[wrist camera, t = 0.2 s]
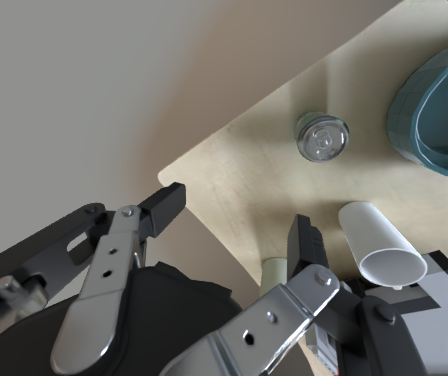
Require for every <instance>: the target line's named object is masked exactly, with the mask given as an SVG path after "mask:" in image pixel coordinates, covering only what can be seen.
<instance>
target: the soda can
mask: <svg viewBox="0 0 448 376" xmlns="http://www.w3.org/2000/svg"><path fill="white" fill-rule="evenodd" d="M293 132H294V136H295V139H296V143H297V146H298V149H299V152H300V154H301V155H302V156H303V157H304V158H305V159H307V160H309V161H312V162H326V161H330V160H332V159H335V158H336V157H338V156H339V155H340V154H341V153H342V152H343V151H344V149H345V148H346V146H347V144H348V141H349V129H348V127H347V125H346V124H345V123H344V122H343V121H342V120H341V119H339V118H337V117H334V116H331V115H327V114H324V113H321V112H318V111H310V112H306V113H304V114H303V115H301V116H300V117H299V118H298V119H297V121H296V122H295V125H294V129H293Z"/></svg>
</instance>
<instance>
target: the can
mask: <svg viewBox="0 0 448 376" xmlns="http://www.w3.org/2000/svg"><path fill="white" fill-rule="evenodd" d="M280 283H282V284H283V285H284V284H286V283H287V259H284V258H270V259H268V260H266V261H265V262H264V263H263V265H262V278H261V286H260V293H259V298H260V297H262V296H263V295H264V294H266V293H267V292H268V291H270V290H271V289H272V288H274V287H275V286H276V285H278V284H280Z"/></svg>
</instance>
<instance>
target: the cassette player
mask: <svg viewBox="0 0 448 376" xmlns="http://www.w3.org/2000/svg"><path fill="white" fill-rule="evenodd" d="M305 336H306V346H307V347H308V348H309V349H310V350H311V351H312V352H313V354H314V355H315V356H316V357H317V359H318V360H319V361H320V362H321V363H322V364H323V365H324V366H325V367H326V368H327V369H328V370H329V371H330V372H331V373H332V374H333V375H334V376H339V371H338V363H337V355H336V347H335V339H334V338H333V337H332V336H331V335H329V334H328V333H327V332H325V331H324V330H323V329H321V328H320V327H319V326H317V325H316V324H315V323H313V324H312V325H311V327H310V328H309V329H308V330H307V331H306V332H305Z"/></svg>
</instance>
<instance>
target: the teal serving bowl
mask: <svg viewBox="0 0 448 376" xmlns="http://www.w3.org/2000/svg"><path fill="white" fill-rule="evenodd" d="M386 131H387V134H388V137H389V140H390V143H391V145H392V147H393V148H394V149H395V150H396V151H397V152H398V153H399V154H400V155H401V156H403V157H405V158H407V159H409V160H411V161H413V162H416V163H418V164H420V165H422V166H424V167H426V168H428V169H431V170H433V171H435V172H438V173H440V174H442V175H445V176H448V48H447V49H445V50H443V51H441V52H440V53H438V54H436V55H435V56H434V57H432V58H431V59H430V60H429V61H428V62H426V63H425V64H424V65H423V66H421V67H420V68H419V69H418V70H417V71H415V72H414V73H413V74H412V75H411V77H410V78H409V79H408V80H407V82H406V83H405V84H404V85H403V87H402V88H401V89H400V90H399V92H398V93H397V94H396V96H395V98H394V101H393V103H392V105H391V107H390V110H389V112H388V117H387V128H386Z"/></svg>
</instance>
